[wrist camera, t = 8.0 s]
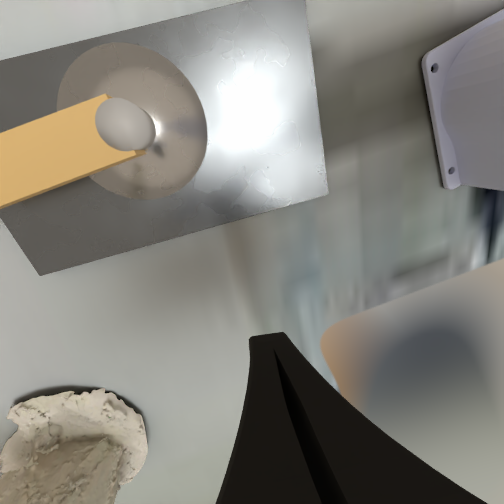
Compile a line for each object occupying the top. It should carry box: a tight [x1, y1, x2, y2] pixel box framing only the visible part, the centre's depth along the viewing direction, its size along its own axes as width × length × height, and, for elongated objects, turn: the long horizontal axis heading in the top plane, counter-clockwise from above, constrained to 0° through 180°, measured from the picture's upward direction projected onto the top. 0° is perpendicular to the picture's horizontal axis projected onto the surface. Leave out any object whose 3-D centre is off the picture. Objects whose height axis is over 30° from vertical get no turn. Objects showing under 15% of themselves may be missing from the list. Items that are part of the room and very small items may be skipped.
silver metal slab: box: [0, 0, 329, 276], centre depth 14 cm, size 20×11×3 cm, turn 104°
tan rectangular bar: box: [0, 94, 156, 209], centre depth 11 cm, size 11×2×2 cm, turn 109°
